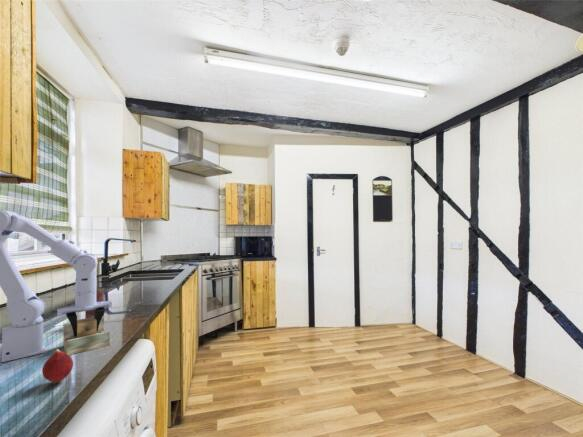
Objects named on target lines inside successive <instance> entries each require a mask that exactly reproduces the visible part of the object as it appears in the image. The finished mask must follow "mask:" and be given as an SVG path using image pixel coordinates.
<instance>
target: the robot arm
mask: <svg viewBox="0 0 583 437" xmlns="http://www.w3.org/2000/svg"><path fill="white" fill-rule="evenodd" d="M14 232H15V233H17V232H18V233H22V234H23V233H24V234H26V235H28V236H29V237H31V238H33V239H35V240H37V241H39V242H40V243H42V244H43V245H46V246H47V247H49V248H50V251H51V254H52V255H53V256H55V257H57V258H59V259H60V260H61V261H63V262H64V263H66V264H68V265H69V266H72V267H73V270H74V271H75V280H74V281H75V282H74V283H75V284H74V287H75V291H74V292H75V293H74V295H75V296H74V300H75V301H74V305H70V306H65V307H60V308H57V309H56V311H57V317H61V316H64V315H65V316H66V318H67V319H68V321H69V323H71V326H72V329H73V334H74V337H75V336H77V320H78V315H77V313H81V312H85V311H89V310H94V318H95V319H96V320H97V332H98V327H99V324H100V321H101V319H102V317H103V315H104V316H105V314H106V308H112V307H113V301H112V300H104V301H102V302H96V290H97V283H98V282H97V278H98V277H97V269H96V268H97V266H98V264H99V262H98V259H97V257H96V255H95V254H93V253H89V251H88V250H87V249H82V248H81V247H79V246H78V245H76V244H75V243H76V242H75V241H74V240H73V239H67V238H65V239H59V238H58V237H56V236H55V235H53V234H52V233H50V232H49V231H47V230H45V229H44V228H43V227H42V226H41V225H39V224H38V223H36V222H35V221H33V220H32V219H30V218H28V217H27V216H24V215H21V214H20V213H18V212H17V211H14V210H4V209H1V208H0V288H1V289H2V292H3V293H4V294H5V296H6V308H7V310H8V317H7V318H8V321H9V323H11V325H9V326H5V327H2V331H1V347H0V355H1V363H5V362H9V361H13V360H18V359H22V358H26V357H31V356H36V355H40V354H44V353H46V348H45V343H44V318H43V316H42V315H43V313H44V312H45V310H46V303H45V301H44V300H43V299H42V298H39V297H38V296H37V294H36V292H34V291H33V290H31V289H30V288H29V286H28V285H27V282H26V281H25V279H24V277H23V276H22V274H21V272H20V270H19V268H18V267H17V265H16V263H15V261H14V260H13V258H12V256H11V255H10V254H11V253H10V252H9V251H8V249H7V247H6V246H5V242H6V241H7V240H8V238H9V236H10V235H11V234H13V233H14Z"/></svg>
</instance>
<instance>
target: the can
mask: <svg viewBox="0 0 583 437" xmlns="http://www.w3.org/2000/svg"><path fill="white" fill-rule="evenodd" d="M102 301H105V289H104V287H103V286H100V287H97V290H96V302H102ZM84 313H85V314H84V315H85V318H91V317H94V310H89V311H84ZM103 317H104V318H105V314H104V315H103ZM85 318H84V319H85Z"/></svg>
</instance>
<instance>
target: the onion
mask: <svg viewBox="0 0 583 437" xmlns="http://www.w3.org/2000/svg"><path fill="white" fill-rule="evenodd" d="M73 365H74V361H73V359H72V357H71V355H68V354H66V352H63V351H61V350H60V349H58V348H57V349H55V351H54V353H53V354H52V355H51V356H50V357H49V358H48V359H47V360H46V361H45V362H44V364H43V366H42V370H41V373H42V375H43V378H44V379H45V380H47V381H49V382H51V383H53V384H59V383H60V382H61V381H62V380H64V379H65V378H67V376H68V375H70V373H71V372H72V370H73Z"/></svg>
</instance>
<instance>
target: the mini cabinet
mask: <svg viewBox="0 0 583 437" xmlns="http://www.w3.org/2000/svg"><path fill="white" fill-rule="evenodd" d="M94 334H97V320H96V319H95V318H94V317H91V318H81V319H77V336H75V338H80V337H85V336H89V335H94Z"/></svg>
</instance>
